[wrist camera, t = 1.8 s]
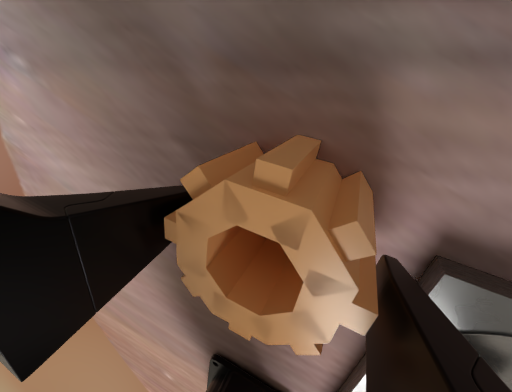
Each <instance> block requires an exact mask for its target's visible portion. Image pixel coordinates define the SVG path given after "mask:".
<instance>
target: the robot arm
mask: <svg viewBox="0 0 512 392" xmlns="http://www.w3.org/2000/svg"><path fill="white" fill-rule="evenodd" d="M192 200H193V199H192V198H191V196H190V195H189V193H188V192H187V190H186V189H185V187H184V186H183V185H182V186H170V187H159V188H148V189H136V190H125V191H115V192H102V193H89V194H72V195H51V196H25V197H23V196H12V195H6V194H2V193H0V362H1V363H2V364H3V365H4V366H5V367H6V368H7V369H8V370H9V371H10V372H11V373H12V374H13V375H15V376H16V378H18V379H19V380H20V381H21V382H23V381H24V380H25V379H26V378H28V377H29V376H30V375H31V374H32V373H33V372H34V371H35V370H36V369H38V368H39V367H40V366H41V365H42V364H43V363H44V362H45V361H46V360H47V359H48V358H49V357H50V356H51V355H52V354H53V353H55V352H56V351H57V350H58V349H59V348H60V347H61V346H62V345H63V344H64V343H65V342H66V341H67V340H68V339H69V338H70V337H72V335H73V334H75V333H76V332H77V331H78V330H79V329H80V328H81V327H82V326H83V325H84V324H85V323H86V322H87V321H88V320H89V319H91V318H92V317H93V316H94V315H95V314H96V312H98V311H99V310H100V309H101V308H102V307H103V306H104V305H105V304H106V303H107V302H109V301H110V300H111V299H112V298H113V297H114V296H115V295H116V294H117V293H118V292H119V291H120V290H121V289H122V288H123V287H124V286H126V285H127V284H128V283H129V282H130V281H131V280H132V279H133V278H134V277H135V276H136V275H137V274H138V273H139V272H140V271H142V270H143V269H144V268H145V267H146V266H147V265H148V264H149V263H150V262H151V261H152V260H153V259H154V258H155V257H156V256H157V255H159V254H160V253H161V252H162V251H163V250H164V249H165V248H166V247H167V246H168V245H169V244H170V243H171V241H169V240H167V239H165V228H164V217H166V216H168V215H169V214H171V213H172V212H174V211H176V210H177V209H179V208H181V207H182V206H184V205H186V204H187V203H189V202H190V201H192ZM376 280H377V299H378V317H377V318H376V320H375V321H374V322H373V324H372V325H371V327H370V328H369V330H368V331H367V333H366V392H512V391H511V390H510V389H509V387H508V386H507V385H506V384H505V383H504V382H503V381H502V380H501V378H500V377H499V376H498V375H497V374H496V373H495V372H494V371H493V369H492V368H491V367H490V366H489V365H488V364H487V362H486V361H485V360H484V359H483V358H482V357H479V353H478V352H477V351H476V350H475V349H474V348H473V346H472V345H471V344H470V343H469V342H468V341H467V340H466V338H465V337H464V336H463V335H462V334H461V333H460V331H459V330H458V329H457V328H456V327H455V326H454V325H453V323H452V322H451V321H450V320H449V319H448V318H447V316H446V315H445V314H444V313H443V312H442V311H441V310H440V308H439V307H438V306H437V305H436V304H435V303H434V301H433V300H432V299H431V298H430V297H429V296H428V295H427V293H426V292H425V291H424V290H423V289H422V288H421V287H420V285H419V284H418V283H417V282H416V281H415V280H414V278H413V277H412V276H411V275H410V274H409V273H408V272H407V270H406V269H405V268H404V267H403V266H402V265H401V263H400V262H399V261H398V260H397V259H395V258H393V257H390V256H388V255H383V256H382V257H381V258H380V260H379V262H378V263H377V265H376ZM206 392H276V391H274V390H273V389H271V388H270V387H268V386H266V385H265V384H263V383H262V382H260V381H258V380H257V379H255V378H254V377H252V376H251V375H249V374H247V373H246V372H244V371H243V370H241V369H240V368H238V367H236V366H235V365H233V364H232V363H230V362H229V361H227V360H225V359H224V358H222V357H221V356H219V355H217V354H214V355H213V356H212V358H211V360H210V366H209V375H208V384H207V390H206Z"/></svg>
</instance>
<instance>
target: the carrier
mask: <svg viewBox="0 0 512 392" xmlns="http://www.w3.org/2000/svg"><path fill="white" fill-rule="evenodd" d="M417 283H418V284H419V285H420V287H421V288H422V289H423V290H424V291H425V292H426V293H427V295H428V296H429V297H430V298H431V299H432V300H433V301H434V303H435V304H436V305H437V306H438V307H439V308H440V310H441V311H442V312H443V313H444V314H445V315H446V316H447V318H448V319H449V320H450V321H451V322H452V323H453V325H454V326H455V327H456V328H457V329H458V330H459V331H460V333H461V334H462V335H463V336H464V337H465V338H466V340H467V341H468V342H469V343H470V344H471V345H472V346H473V348H474V349H475V350H476V351H477V352H478V353H479V357H482V358H483V359H484V360H485V361H486V362H487V364H488V365H489V366H490V367H491V368H492V369H493V371H494V372H495V373H496V374H497V375H498V376H499V377H500V378H501V380H502V381H503V382H504V383H505V384H506V385H507V386H508V387H509V389H510V390H511V391H512V282H510V281H507V280H504V279H501V278H499V277H496V276H493V275H490V274H487V273H484V272H482V271H479V270H476V269H473V268H470V267H467V266H465V265H462V264H459V263H456V262H453V261H450V260H448V259H445V258H442V257H439V256H436V257H435V259H434V260H433V261H432V263H431V264H430V265H429V267H428V268H427V270H426V271H425V272H424V274H423V275H422V276H421V278H420V279H419V281H418V282H417ZM338 392H366V354H365V355H364V356H363V358H362V359H361V360H360V362H359V363H358V365H357V366H356V367H355V369H354V370H353V372H352V373H351V374H350V376H349V377H348V378H347V380H346V381H345V383H344V384H343V385H342V387H341V388H340V389H339V391H338Z"/></svg>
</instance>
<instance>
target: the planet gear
mask: <svg viewBox="0 0 512 392" xmlns="http://www.w3.org/2000/svg"><path fill="white" fill-rule="evenodd" d="M320 144H321V140H317V139H313V138H309V137H305V136H301V135H296V136H295V137H293V138H291V139H289V140H288V141H286V142H284V143H283V144H281V145H279V146H277V147H276V148H274V149H272V150H270V151H269V152H267V153H265V154H263V152H262V151H261V149H260V147H259V146H258V144H257V142H254V143H251V144H249V145H246V146H244V147H242V148H239V149H237V150H235V151H232V152H230V153H227V154H225V155H223V156H220V157H218V158H216V159H213V160H211V161H208V162H206V163H204V164H201V165H199V166H197V167H196V168H195V169H193V170H192V171H191V172H189V173H188V174H187V175H185V176H184V177H183V178H182V179H180V181H181V183H182V184H183V186H184V187H185V189H186V190H187V192H188V193H189V195H190V196H191V198H192V199H193V200H192V201H190V202H189V203H187V204H186V205H184V206H182V207H181V208H179V209H177V210H176V211H174V212H172V213H171V214H169V215H168V216H166V217H164V228H165V239H167V240H169V241H171V242H173V243H175V244H176V245H177V265H178V266H179V267H180V269H181V270H182V272H183V273H184V275H183V276H182V277H181V278H180V279H181V280H182V282H183V283H184V284H185V286H186V287H187V289H188V290H189V291H190V293H191V294H192V296H193V297H196V296H200V297H201V299H202V300H203V302H204V303H205V304H206V306H207V307H208V309H209V310H210V311H211V313H213V314H214V315H216V316H218V317H219V318H221V319H223V320H225V321H226V322H228V323H229V327H228V329H230V330H232V331H233V332H235V333H237V334H238V335H240V336H242V337H244V338H245V339H247V340H249V341H250V339H251V337H252V336H253V337H254V338H256V339H258V340H260V341H261V342H263V343H265V344H267V345H288V344H289V345H290V346H291V348H292V349H293V351H294V352H295V354H296V355H321V352H322V346H323V344H326V343H330V341H331V339H332V337H333V335H334V334H335V332H336V330H337V328H338V326H339V325H342V326H345V327H347V328H349V329H351V330H353V331H355V332H357V333H359V334H361V335H363V336H365V334H366V333H367V331H368V330H369V328H370V327H371V325H372V324H373V322H374V321H375V320H376V318H377V317H378V299H377V280H376V261H375V255H377V254H376V238H375V222H374V206H373V192H372V190H371V188H370V186H369V184H368V183H367V181H366V179H365V177H364V175H363V173H362V172H361V171H359V172H357V173H355V174H353V175H350V176H348V177H346V178H344V179H342V178H341V176H340V174H339V172H338V171H337V169H336V167H335V165H334V164H333V163H329V162H326V161H322V160H319V159H316V157H317V154H318V150H319V147H320Z"/></svg>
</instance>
